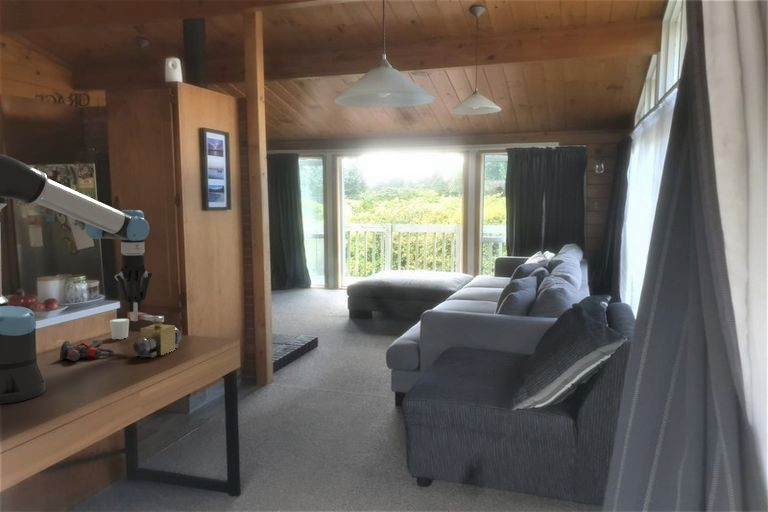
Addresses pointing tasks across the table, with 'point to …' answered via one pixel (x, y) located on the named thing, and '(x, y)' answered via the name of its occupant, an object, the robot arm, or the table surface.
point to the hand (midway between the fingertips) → (134, 320)
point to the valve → (83, 351)
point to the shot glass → (119, 328)
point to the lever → (149, 317)
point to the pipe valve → (157, 340)
